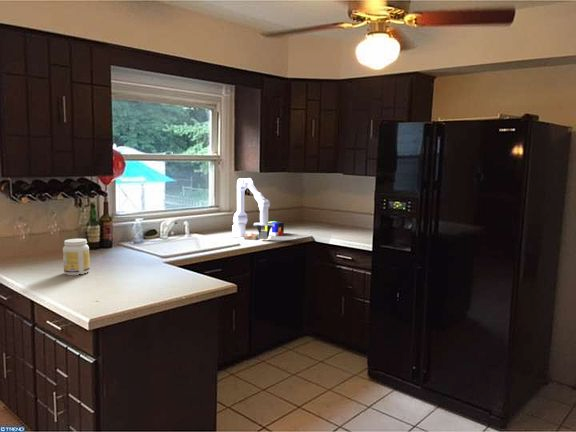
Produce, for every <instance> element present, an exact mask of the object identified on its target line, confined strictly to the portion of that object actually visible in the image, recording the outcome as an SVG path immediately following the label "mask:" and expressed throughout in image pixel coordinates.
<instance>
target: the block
mask: <svg viewBox="0 0 576 432" xmlns="http://www.w3.org/2000/svg"><path fill="white" fill-rule="evenodd" d="M268 237H269V236H268ZM268 237H267V231H265V230H261V232H260V236H259V239H260V240H261V239H263V240H269V239H268Z"/></svg>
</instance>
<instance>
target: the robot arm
mask: <svg viewBox="0 0 576 432" xmlns="http://www.w3.org/2000/svg"><path fill="white" fill-rule="evenodd" d="M247 189H248V190H249V191H250V192H251V193H252V194H253V199H255V201H256V202H257V204H258V205H257V206H258V208H259V209H258V210H259V222H254V223H253V226H254V227H256V228H257V231H258V236H259V237H260V232H261V231H262V227H265V226H268V227H267V237H270V235H269V232H270V229H271V227H272V226H274V223H268V222H269V208H270V207H271V202H270V200H269V199H267V198H265V196H264V195H263V193H262V192H260V191H258V189H257V188H256V186H255V185H254V181H253V180H252V178H251V177H247V178H241V177H240V178H238V179H237V181H236V212H235V213H234V214H233V219H232V222H233V225H232V226H231V227H232V228H231V230H232V231H231V234H232V235H231V237H232V238H241V237H244V236H245V235H246V225H247V223H248V221H249V220H248V213H247V212H245V191H246V190H247Z"/></svg>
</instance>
